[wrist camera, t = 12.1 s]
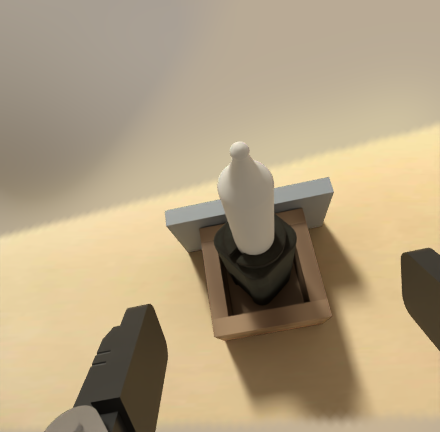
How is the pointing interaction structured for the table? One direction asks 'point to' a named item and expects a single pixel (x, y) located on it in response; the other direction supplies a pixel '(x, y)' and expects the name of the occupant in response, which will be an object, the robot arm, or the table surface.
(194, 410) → the table surface
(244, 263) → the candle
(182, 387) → the table surface
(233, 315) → the socket block
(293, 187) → the backstop wall
